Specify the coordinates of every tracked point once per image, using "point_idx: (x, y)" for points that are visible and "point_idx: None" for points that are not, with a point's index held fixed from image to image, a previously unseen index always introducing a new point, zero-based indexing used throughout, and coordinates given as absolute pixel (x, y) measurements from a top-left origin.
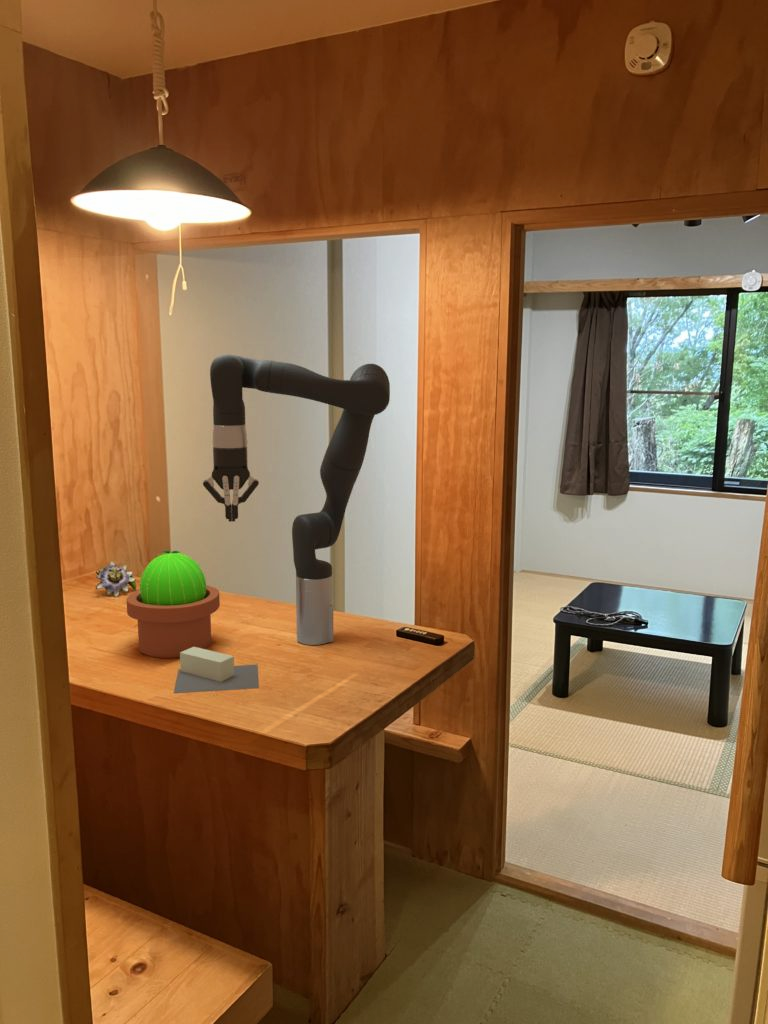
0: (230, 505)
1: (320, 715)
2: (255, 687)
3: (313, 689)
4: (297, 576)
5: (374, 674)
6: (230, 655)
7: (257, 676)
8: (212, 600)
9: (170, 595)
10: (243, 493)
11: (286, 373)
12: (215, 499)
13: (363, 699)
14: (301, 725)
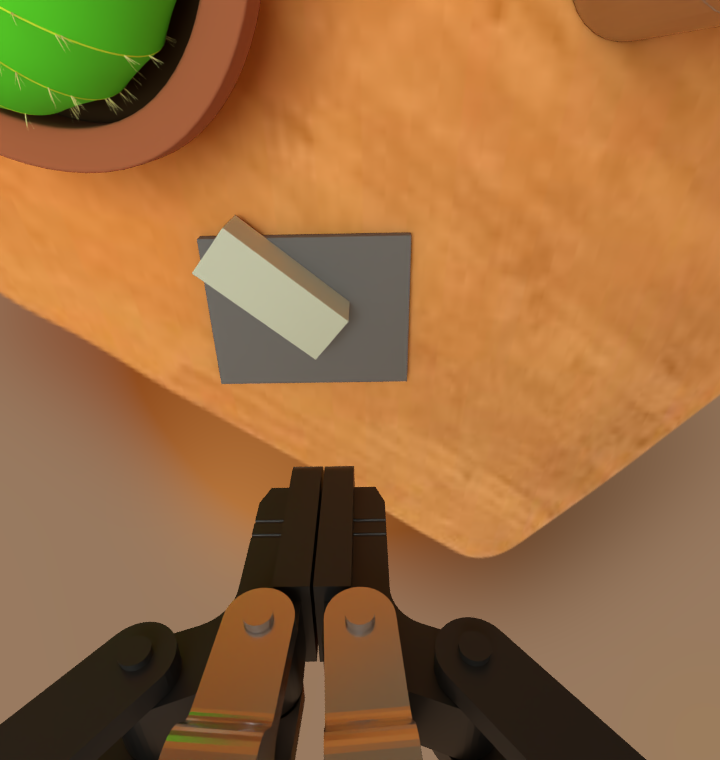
0: (305, 650)
1: (511, 481)
2: (399, 377)
3: (526, 375)
4: None
5: (695, 312)
6: (339, 314)
7: (406, 317)
8: (236, 48)
9: (42, 114)
10: (495, 728)
11: None
12: (112, 751)
13: (612, 432)
14: (470, 508)
